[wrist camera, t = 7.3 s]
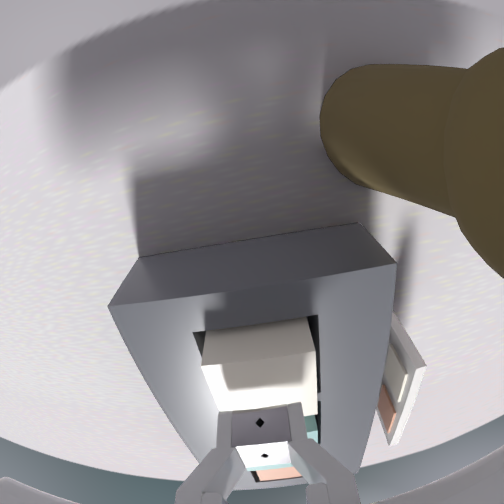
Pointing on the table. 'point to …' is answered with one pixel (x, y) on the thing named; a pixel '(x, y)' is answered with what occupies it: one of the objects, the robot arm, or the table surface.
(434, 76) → the cork
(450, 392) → the table surface
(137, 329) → the keypad
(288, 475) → the terracotta key
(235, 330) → the cream key
